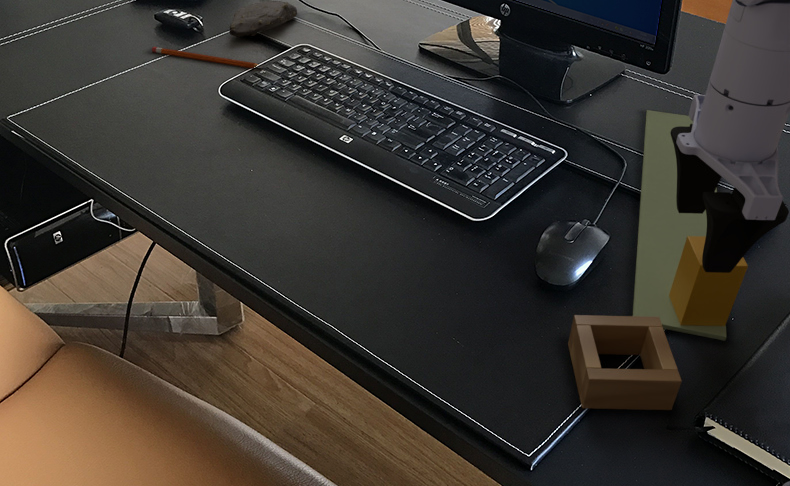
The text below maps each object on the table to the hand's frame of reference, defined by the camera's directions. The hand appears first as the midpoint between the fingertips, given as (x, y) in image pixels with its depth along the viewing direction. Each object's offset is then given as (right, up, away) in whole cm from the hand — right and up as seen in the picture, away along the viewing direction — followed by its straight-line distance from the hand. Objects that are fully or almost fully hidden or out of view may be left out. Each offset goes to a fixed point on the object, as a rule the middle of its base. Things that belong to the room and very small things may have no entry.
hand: (702, 239), depth 64 cm
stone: (-45, +32, +57) cm, 79 cm away
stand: (-6, -11, +2) cm, 13 cm away
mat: (+6, +4, +21) cm, 22 cm away
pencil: (-51, +25, +48) cm, 75 cm away
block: (+2, -6, +8) cm, 10 cm away
